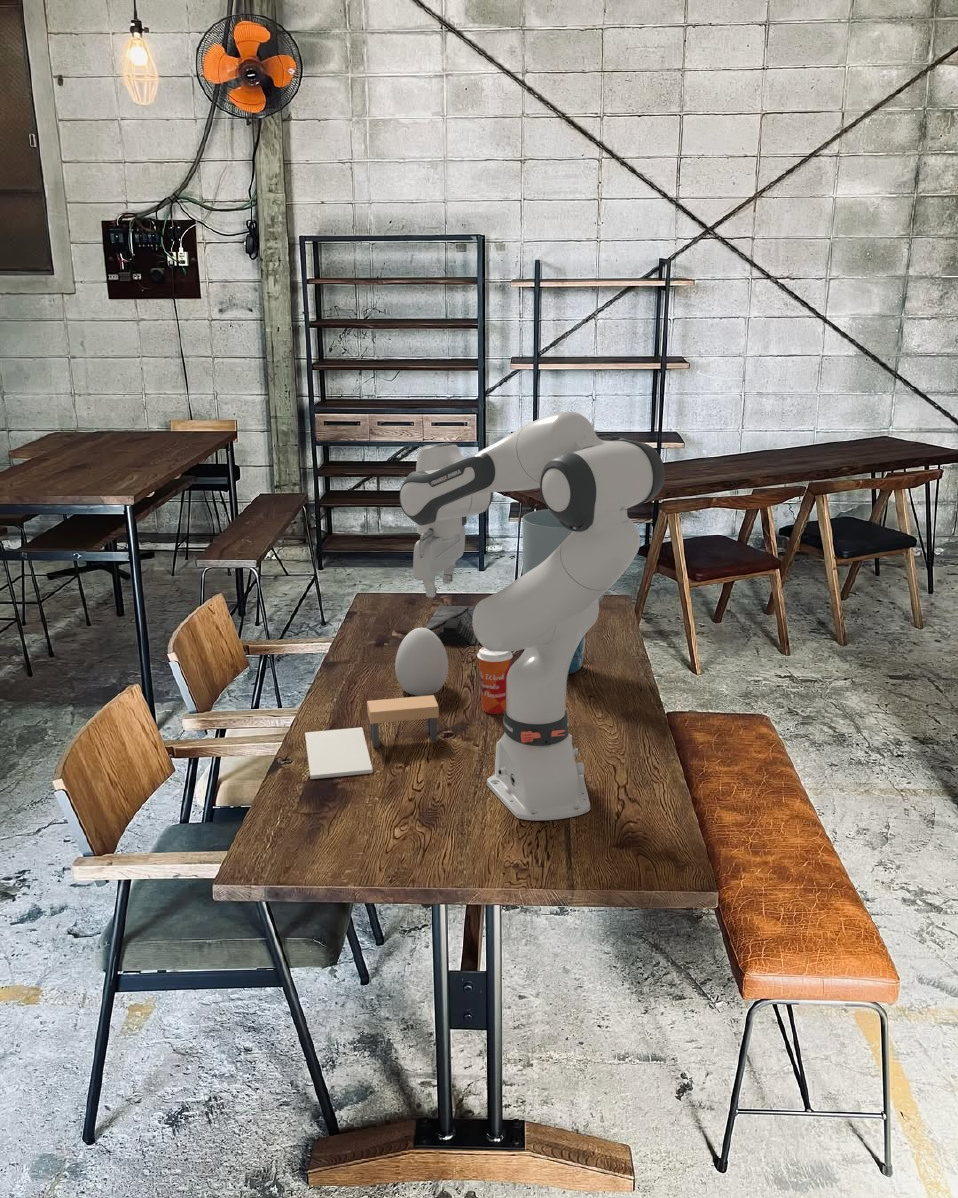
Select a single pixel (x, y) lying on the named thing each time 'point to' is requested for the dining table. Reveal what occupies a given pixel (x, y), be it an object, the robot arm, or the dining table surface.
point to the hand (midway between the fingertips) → (439, 589)
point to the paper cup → (493, 679)
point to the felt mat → (337, 753)
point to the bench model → (403, 713)
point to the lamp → (546, 554)
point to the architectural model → (454, 625)
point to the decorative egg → (421, 663)
